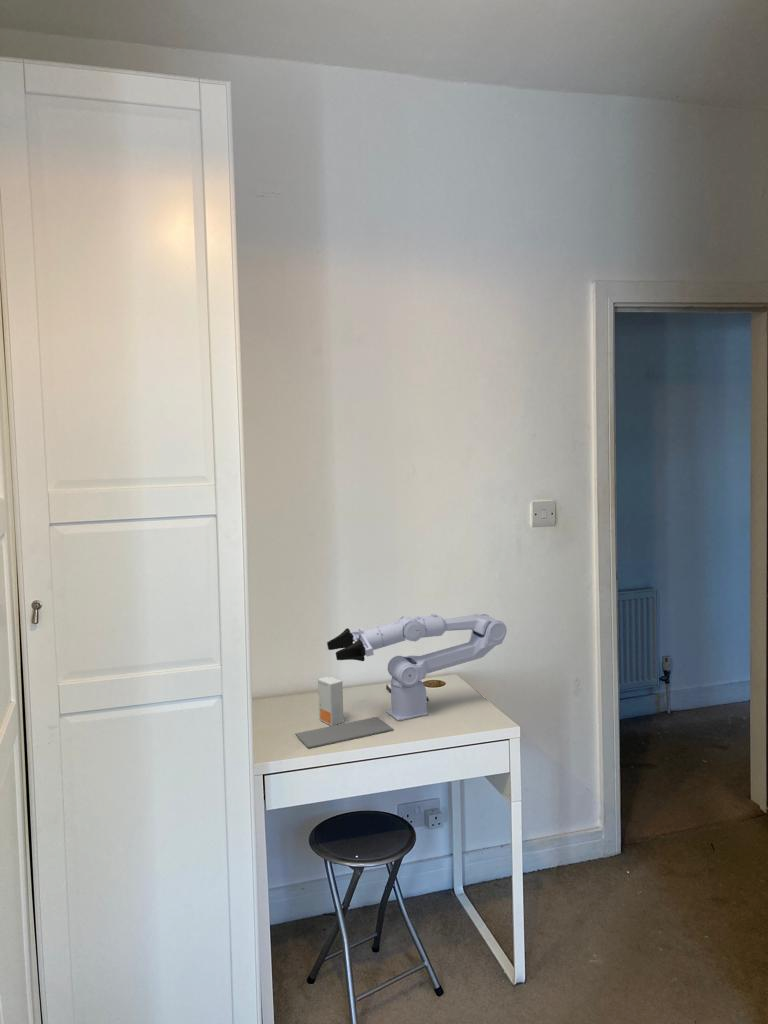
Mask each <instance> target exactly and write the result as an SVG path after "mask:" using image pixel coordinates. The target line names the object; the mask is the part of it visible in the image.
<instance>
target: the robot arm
mask: <svg viewBox="0 0 768 1024" xmlns="http://www.w3.org/2000/svg"><path fill="white" fill-rule="evenodd" d="M468 630H469V631H470V630H471V634H470V639H469V641H468V642H465V643H461V644H458V645H454V646H451V647H447V648H444V649H440V650H435V651H432V652H429V653H426V654H422V655H407V656H403V655H395V656H393V657H392V658H391V659H390V660H389V662H388V663H387V672H388V674H389V676H391V680H390V684H391V694H390V697H391V698H390V699H391V708H390V709H386V710H385V712H386V713H387V714H389V715H390V716H391V717H392V718H394V719H395V720H397V721H398V722H399V721H404V720H409V719H413V718H417V717H418V718H419V717H423V716H427V715H429V712H428V710H427V702H428V701H427V702H426V696H427V689H426V685H425V684H424V682H423V681H422V680H425V678H426V676H427V675H428V674H430V673H434V672H437V671H442V670H445V669H448V668H451V667H455V666H458V665H461V664H462V665H463V664H465V663H469V662H472V661H475V660H479V659H482V658H484V657H485V656H486V655H487V654H488V653H489V652H491V651H492V650H493V649H494V648H495V647H496V646H499V645H502V644H503V641H504V639H505V637H506V636H507V630H508V629H507V625H506V624H505V623H504V622H503V621H502V620H499V619H496V618H493V617H492V616H490V615H488V614H485V613H481V614H479V613H478V614H477V613H474V614H471V615H470V614H469V615H462V616H457V617H451V618H443V617H442V616H441V615H438V614H437V613H431V614H430V616H420V615H415V617H414V618H412V617H411V616H404V615H403V616H401V617H399V618H398V619H397V620H396V621H394V622H390V623H386V624H383V625H379V626H376V627H372V628H370V629H365V630H364V629H363V628H362V627H359V628H358V630H356V629H353V630H350V629H349V628H345V629H344V630H343V631H342V632H341V633H340V634H339V635H337V636H335V637H334V638H332V639H330V640H329V641H327V642H326V645H327V650H329V651H333V650H337V651H336V652H335V656H336V660H337V661H348V660H350V661H353V660H354V661H360V662H365V660H366V659H365V657H367V658H368V657H371V656H374V651H375V650H379V649H383V648H385V647H388V646H392V645H395V644H398V643H400V642H405V641H406V640H407V641H410V642H418V641H419V640H421V639H423V638H432V637H440V636H441V637H442V635H444V633H445V632H447V631H448V632H449V631H468Z"/></svg>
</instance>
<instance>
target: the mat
mask: <svg viewBox="0 0 768 1024" xmlns="http://www.w3.org/2000/svg"><path fill="white" fill-rule="evenodd" d="M393 731H394V728H393V727H392V726H390V725H389V724H388V723H386V722H385V721H384V720H382V719H381V718H379V717H378V716H374V717H368V718H363V719H360V720H359V719H358V720H355V721H354V720H353V721H349V722H345V723H344V722H343V723H341V724H338V725H334V726H330V725H329V726H325V727H324V726H323V727H319V728H315V729H311V730H306V731H301V732H296V733H294V736H295V735H296V736H297V737H298V738H299V739H298V738H297V737H296V736H295V737H296V738H297V739H298V741H299V742H300V743H302V744H303V745H304V747H305V748H307V750H310V749H317V748H320V747H323V746H329V745H334V744H338V743H344V742H349V741H352V740H356V739H360V738H361V739H362V738H366V737H370V736H376V735H379V733H380V734H385V733H389V732H393ZM375 734H376V735H375Z"/></svg>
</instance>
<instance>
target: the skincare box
mask: <svg viewBox="0 0 768 1024" xmlns="http://www.w3.org/2000/svg"><path fill="white" fill-rule="evenodd" d="M317 683H318V686H317V687H318V690H317V691H318V709H319V710H318V711H319V712H318V713H319V714H318V715H319V717H318V718H319V721H320V722H323V723H325V724H326V723H327V725H328V724H329V726H334V725H337V724H338V725H339V724H340V723H341V724H344V722H345V721H344V719H345V718H344V694H343V680H341V679H338V678H336V677H333V676H331V675H328V676H323V677H321V678H318V679H317Z"/></svg>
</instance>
